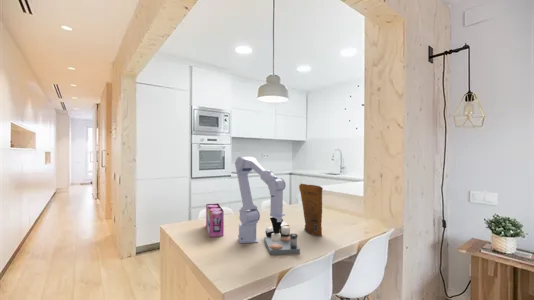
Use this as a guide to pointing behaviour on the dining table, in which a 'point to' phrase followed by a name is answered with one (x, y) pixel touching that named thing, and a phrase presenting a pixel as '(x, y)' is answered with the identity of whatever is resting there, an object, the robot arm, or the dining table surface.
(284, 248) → the mount board
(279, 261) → the dining table surface
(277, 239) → the knob
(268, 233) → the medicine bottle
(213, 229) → the gum box
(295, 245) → the pot post
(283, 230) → the knob
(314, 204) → the pancake mix bag
